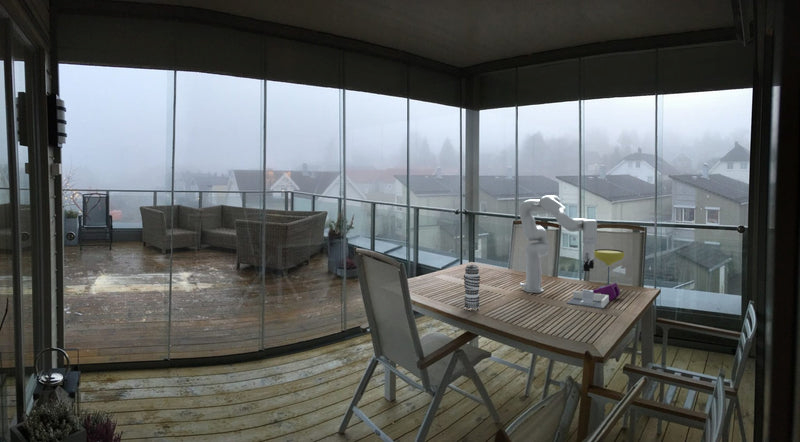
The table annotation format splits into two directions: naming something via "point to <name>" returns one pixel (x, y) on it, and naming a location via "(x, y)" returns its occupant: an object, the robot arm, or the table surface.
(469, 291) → the decorative candle
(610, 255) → the cocktail glass
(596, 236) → the robot arm
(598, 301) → the tray
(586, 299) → the angle bracket
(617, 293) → the mounting bracket
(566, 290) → the table surface
